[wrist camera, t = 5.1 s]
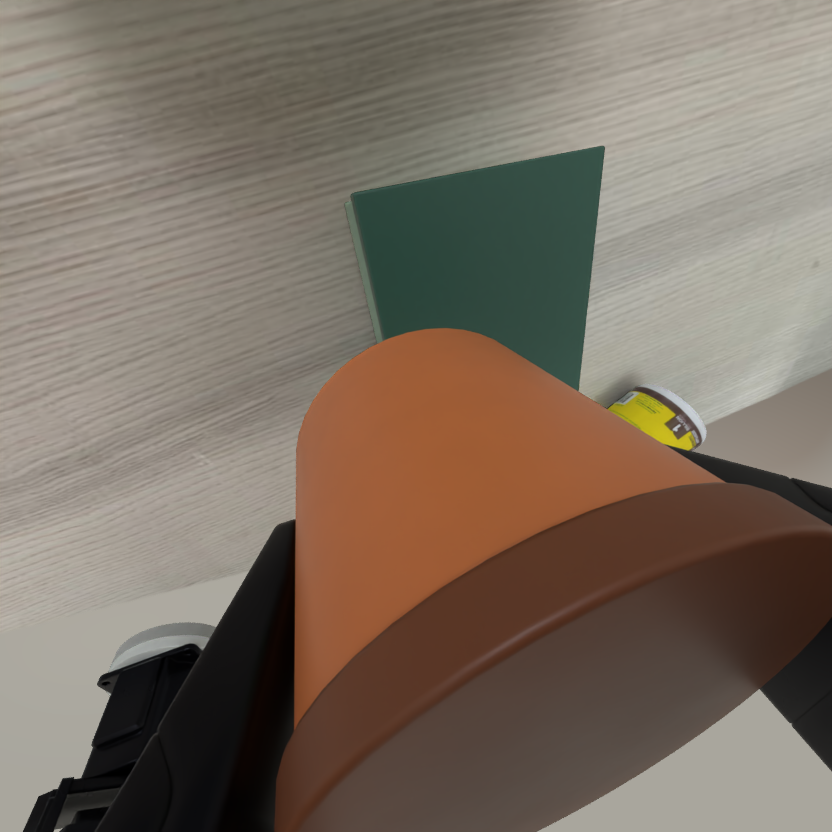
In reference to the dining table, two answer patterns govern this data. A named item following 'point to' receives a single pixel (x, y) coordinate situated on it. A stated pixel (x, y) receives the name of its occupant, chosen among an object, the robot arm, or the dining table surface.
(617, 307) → the dining table surface
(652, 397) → the supplement bottle
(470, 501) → the round tub
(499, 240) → the storage box
